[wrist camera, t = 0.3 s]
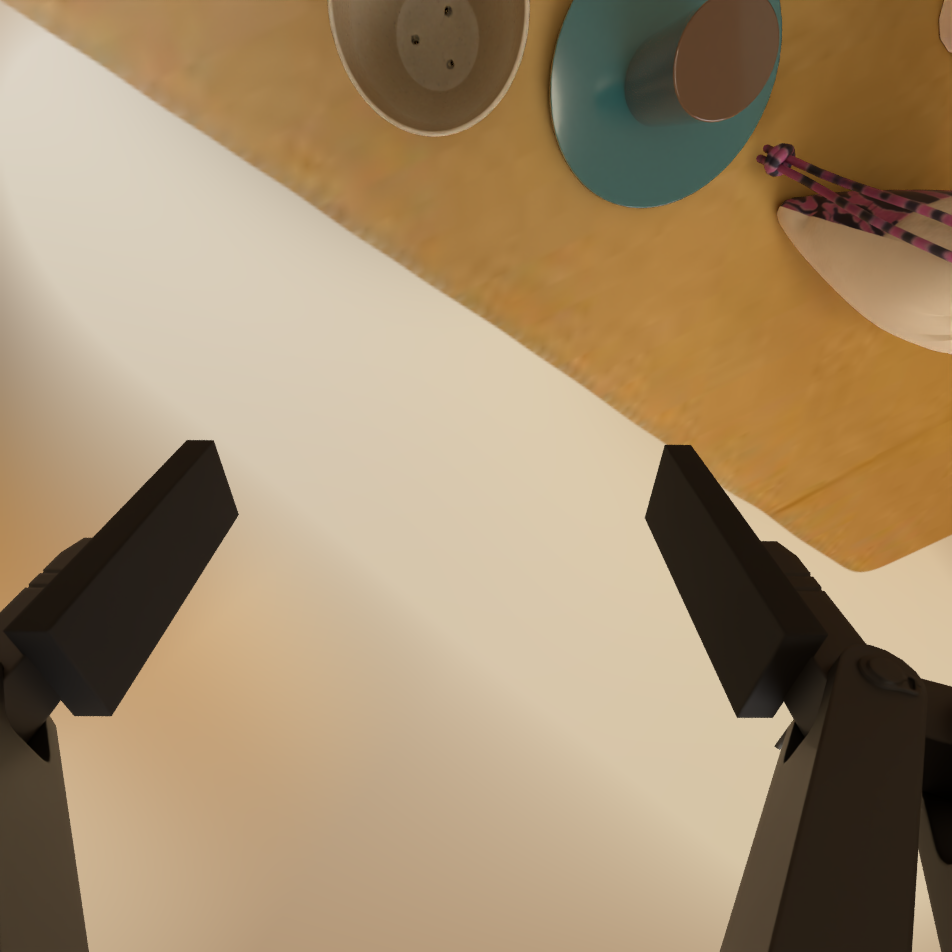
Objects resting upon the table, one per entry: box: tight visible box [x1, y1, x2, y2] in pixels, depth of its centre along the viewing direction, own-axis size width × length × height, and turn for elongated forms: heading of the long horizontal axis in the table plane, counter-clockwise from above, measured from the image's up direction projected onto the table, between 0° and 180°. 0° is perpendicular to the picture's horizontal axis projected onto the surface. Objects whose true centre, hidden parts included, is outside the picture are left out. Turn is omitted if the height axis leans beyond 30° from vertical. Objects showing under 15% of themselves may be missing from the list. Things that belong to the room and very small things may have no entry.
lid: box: [549, 0, 782, 208], centre depth 27 cm, size 14×14×10 cm
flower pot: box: [327, 0, 530, 137], centre depth 27 cm, size 10×10×7 cm
